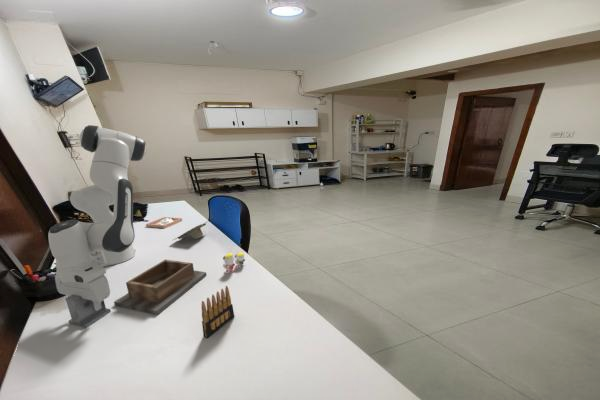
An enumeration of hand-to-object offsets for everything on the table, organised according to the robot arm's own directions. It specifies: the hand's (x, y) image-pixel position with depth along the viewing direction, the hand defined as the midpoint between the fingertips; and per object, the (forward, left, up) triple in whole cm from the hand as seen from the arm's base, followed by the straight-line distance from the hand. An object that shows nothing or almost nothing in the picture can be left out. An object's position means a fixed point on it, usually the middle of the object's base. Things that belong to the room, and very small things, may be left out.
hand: (87, 307), depth 85 cm
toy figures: (+31, +41, -4) cm, 52 cm away
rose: (-52, +86, -5) cm, 100 cm away
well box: (+12, +20, -4) cm, 24 cm away
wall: (-14, +67, -5) cm, 68 cm away
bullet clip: (+46, +8, -4) cm, 47 cm away
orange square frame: (-54, +86, -4) cm, 102 cm away
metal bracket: (0, 0, -4) cm, 4 cm away
